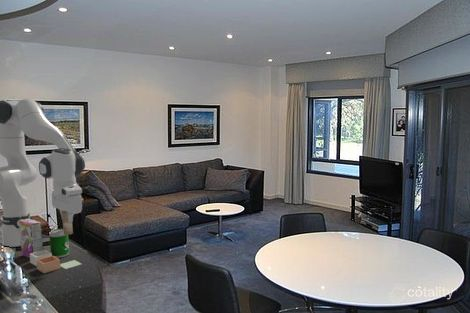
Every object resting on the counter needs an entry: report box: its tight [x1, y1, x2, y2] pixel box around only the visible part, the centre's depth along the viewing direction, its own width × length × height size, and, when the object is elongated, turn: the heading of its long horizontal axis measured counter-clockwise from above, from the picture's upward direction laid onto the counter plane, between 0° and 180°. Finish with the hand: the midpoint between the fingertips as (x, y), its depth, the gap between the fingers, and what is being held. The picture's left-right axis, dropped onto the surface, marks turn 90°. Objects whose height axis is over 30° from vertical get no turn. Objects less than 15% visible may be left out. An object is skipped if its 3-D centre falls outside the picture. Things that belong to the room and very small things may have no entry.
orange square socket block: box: [36, 256, 61, 274], centre depth 166 cm, size 7×7×4 cm
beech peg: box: [61, 210, 74, 236], centre depth 169 cm, size 4×4×10 cm
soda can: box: [48, 228, 70, 259], centre depth 181 cm, size 8×8×12 cm
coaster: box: [60, 259, 82, 270], centre depth 171 cm, size 7×7×1 cm
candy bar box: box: [19, 218, 44, 259], centre depth 182 cm, size 11×5×16 cm, turn 53°
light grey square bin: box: [29, 249, 52, 267], centre depth 174 cm, size 7×7×4 cm
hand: (67, 220), depth 169 cm, fingers closed on beech peg, 4 cm apart
